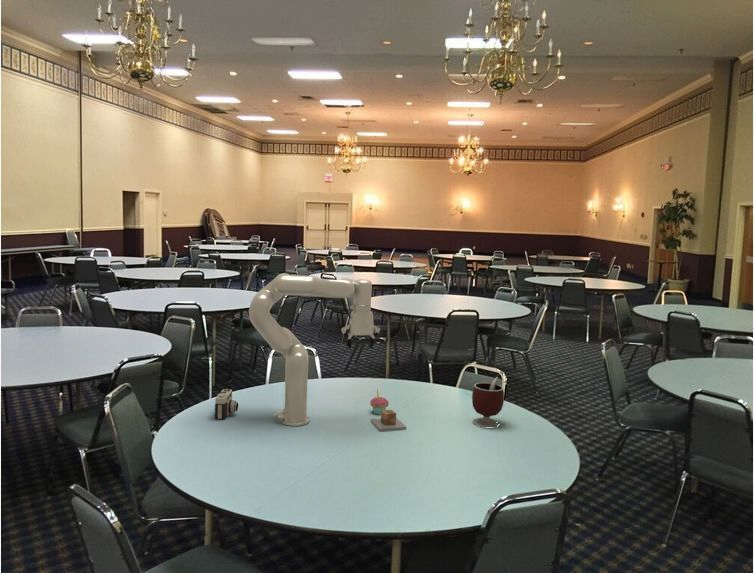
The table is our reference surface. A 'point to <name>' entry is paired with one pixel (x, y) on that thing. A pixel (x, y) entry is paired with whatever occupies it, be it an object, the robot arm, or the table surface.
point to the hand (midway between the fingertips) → (360, 347)
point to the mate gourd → (487, 402)
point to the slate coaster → (382, 427)
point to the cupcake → (378, 404)
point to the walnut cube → (388, 417)
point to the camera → (224, 404)
